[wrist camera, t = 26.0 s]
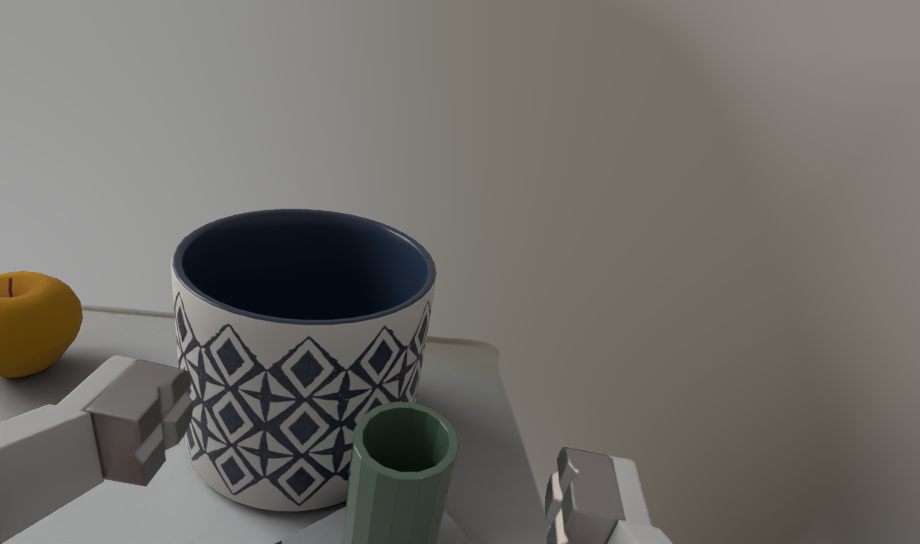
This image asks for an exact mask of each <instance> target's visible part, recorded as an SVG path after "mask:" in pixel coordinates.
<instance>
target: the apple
mask: <svg viewBox="0 0 920 544" xmlns="http://www.w3.org/2000/svg"><path fill="white" fill-rule="evenodd" d="M82 319H83V316H82V309H81V302H80V300H79V299H78V297H77V296H76V294H75V293H74V292H73V291H72V289H71V288H70V287H69V286H68V285H66V284H65V283H63V282H62V281H61V280H59V279H57V278H54V277H51V276H47V275H44V274H41V273H35V272H26V271H19V272H10V273H4V274H0V377H6V378H18V377H24V376H28V375H32V374H35V373H37V372H40V371H42V370H44V369H46V368H48V367H50V366H51V365H52V364H54V363H55V362H56V361H57V360H58V359H59V358H60V357H61V356H62V355H63V354H64V352H65V351H66V350H67V349H68V347H69V346H70V345H71V344H72V342H73V341H74V340H75V338H76V336H77V334H78V332H79V330H80V326H81V322H82Z"/></svg>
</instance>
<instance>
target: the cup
mask: <svg viewBox="0 0 920 544" xmlns="http://www.w3.org/2000/svg"><path fill="white" fill-rule="evenodd" d="M458 449H459V443H458V438H457V433H456V430H455V429H454V427H453V426H452V425H451V424H450V422H449V421H448V420H447V418H446V417H444V416H443V415H441V414H440V413H438V412H437V411H435V410H434V409H432V408H430V407H427V406H423V405H420V404H417V403H412V402H392V403H388V404H384V405H381V406H377V407H375V408H374V409H372V410H371V411H369V412H368V413H366V414H365V415H363V416H362V417H361V419H360V421H359V422H358V424H357V425H356V427H355V429H354V433H353V443H352V452H351V462H350V471H349V481H348V490H347V500H346V509H345V519H344V528H343V538H342V544H437V541H438V537H439V533H440V528H441V524H442V519H443V515H444V511H445V506H446V502H447V497H448V493H449V489H450V484H451V480H452V475H453V471H454V466H455V462H456V458H457V453H458Z"/></svg>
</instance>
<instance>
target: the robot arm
mask: <svg viewBox="0 0 920 544" xmlns="http://www.w3.org/2000/svg"><path fill="white" fill-rule="evenodd" d="M191 385H192V384H191V376H190V372H188V371H186V370H184V369H179V368H175V367H171V366H166V365H162V364H158V363H153V362H149V361H145V360H138V359H134V358H129V357H125V356H121V355H116V356H113V357H110V358H109V359H108V360H107V361H105V362H104V363H103V364H102V365H101V366H100V367H99V368H98V369H96V370H95V371H94V372H93V373H92V374H91V375H90V376H89V377H87V378H86V379H85V380H84V381H83V382H82V383H81V384H80V385H78V386H77V387H76V388H75V389H74V390H73V391H72V392H71V393H70V394H68V395H67V396H66V397H65V398H64V399H63V400H62V401H61V402H59V403H58V404H57V405H50V404H48V405H45V406H42V407H40V408H37V409H34V410H31V411H29V412H26V413H23V414H21V415H18V416H15V417H13V418H10V419H7V420H4V421H2V422H0V544H1V543H3V542H5V541H6V540H8V539H10V538H11V537H13V536H15V535H16V534H18V533H20V532H21V531H23V530H25V529H26V528H28V527H30V526H31V525H33V524H34V523H36V522H38V521H39V520H41V519H43V518H44V517H46V516H48V515H49V514H51V513H53V512H54V511H56V510H58V509H59V508H61V507H63V506H64V505H66V504H67V503H69V502H71V501H72V500H74V499H76V498H77V497H79V496H81V495H82V494H84V493H86V492H87V491H89V490H91V489H92V488H94V487H96V486H97V485H99V484H101V483H102V482H103V481H104V479H106V480H112V481H118V482H123V483H129V484H135V485H141V486H147V485H148V483H149V482H150V481H151V479H152V478H153V477H154V475H155V474H156V473H157V471H158V470H159V469H160V467H161V466H162V465H163V463H164V462H165V461H166V458H165V450H167V449H169V448H171V447H173V446H175V445H177V444H178V443H179V442H180V441H181V439H182V438H183V436H184V435H185V434H186V432H187V429H188V427H189V424H190V422H191V420H192V414H193V400H192V399H191V398H190V396H189V395H188V394H187V393H186V391H187V390H188V388H189V387H190V386H191ZM557 464H558V470H557V471H555V472H553V473H552V474H551V476H550V479H549V482H548V486H547V491H546V497H545V518H546V520H547V521H548V523H549V524H550V525H551V528H550V531H549V533H548V536H547V544H673V543H672V542H671V541H670V539H669V538H668V537H667V536H666V535H665V534H664V533H663V532H662V530H661V529H660V528H656V527H653V526H652V523H651V519H650V515H649V511H648V508H647V504H646V501H645V497H644V493H643V490H642V486H641V482H640V478H639V475H638V471H637V467H636V464H635V463H634V461H633V460H630V459H625V458H619V457H614V456H607V455H603V454H598V453H593V452H587V451H583V450H577V449H572V448H567V447H563V448H562V450H561V451H560V453H559V456H558V458H557Z"/></svg>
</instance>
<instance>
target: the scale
mask: <svg viewBox="0 0 920 544" xmlns="http://www.w3.org/2000/svg"><path fill="white" fill-rule="evenodd" d="M345 509H346V507H344V508H342V509H340V510H338V511H336V512H334V513H332V514H331V515H329V516H327V517H325V518H323V519H321V520H319V521H317V522H315V523H313V524H311V525H309V526H307V527H306V528H304V529H302V530H300V531H298V532H296V533H294V534H292V535H290V536H288V537H286V538H284V539H283V540H282V541H280V542H278V543H276V544H342V538H343V528H344V519H345ZM437 544H474V543H473V542H472V541H471V540H470V539H469V537H468V536H467V535H466V534H465V533H464V532H463V531H462V529H461V528H460V527H459V526H458V525H457V524H456V522H455V521H454V520H453V519H452V518H451V517H450V515H449V514H448V513H447V512H446V511H444V515H443V519H442V524H441V528H440V533H439V537H438V541H437Z"/></svg>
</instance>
